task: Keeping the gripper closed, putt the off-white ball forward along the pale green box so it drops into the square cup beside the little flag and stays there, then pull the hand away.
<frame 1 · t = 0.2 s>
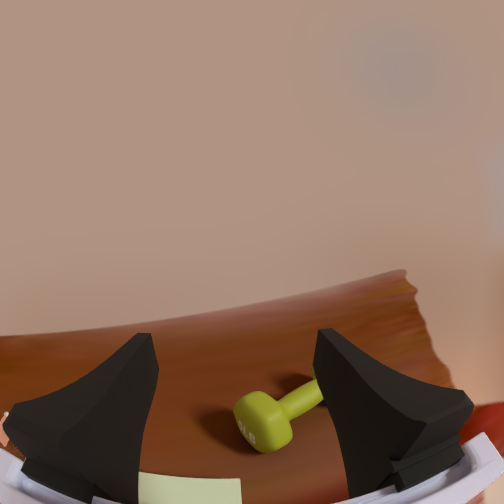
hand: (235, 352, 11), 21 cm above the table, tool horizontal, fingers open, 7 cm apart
dumbbell: (299, 417, 30), on the table
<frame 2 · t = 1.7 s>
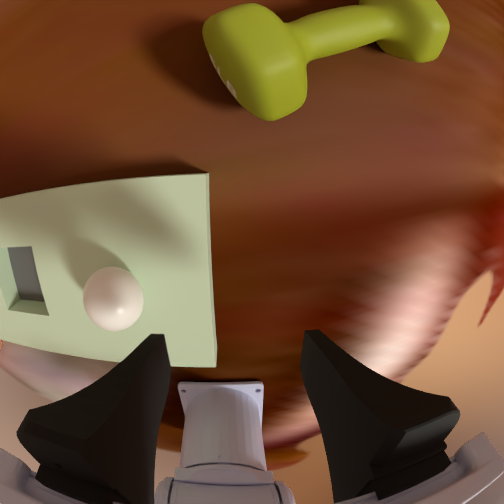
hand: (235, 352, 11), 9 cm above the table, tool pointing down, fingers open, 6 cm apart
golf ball: (113, 298, 15), point 4 cm above the table, touching pale green box
pale green box: (71, 271, 19), on the table
dumbbell: (321, 49, 16), on the table
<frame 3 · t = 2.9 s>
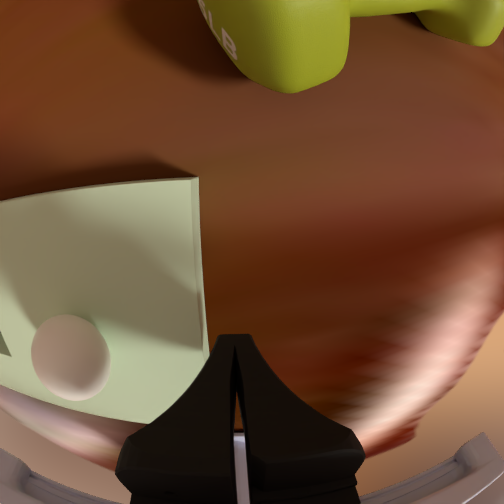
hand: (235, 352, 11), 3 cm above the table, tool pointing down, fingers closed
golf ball: (70, 357, 10), point 4 cm above the table, touching pale green box
pale green box: (32, 304, 13), on the table
dumbbell: (352, 16, 10), on the table
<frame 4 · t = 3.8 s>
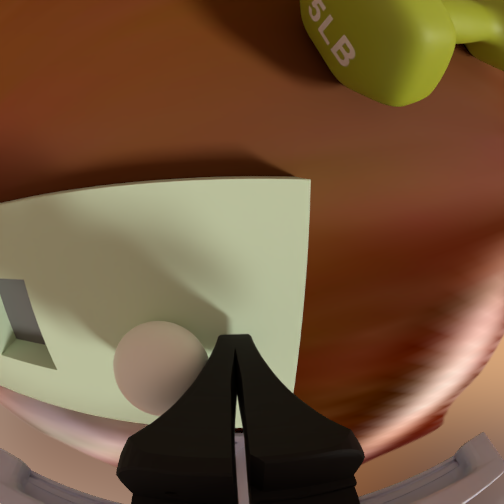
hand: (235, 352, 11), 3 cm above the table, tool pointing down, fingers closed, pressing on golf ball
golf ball: (161, 369, 10), point 4 cm above the table, touching gripper, pale green box
pale green box: (83, 310, 14), on the table
dumbbell: (414, 36, 10), on the table
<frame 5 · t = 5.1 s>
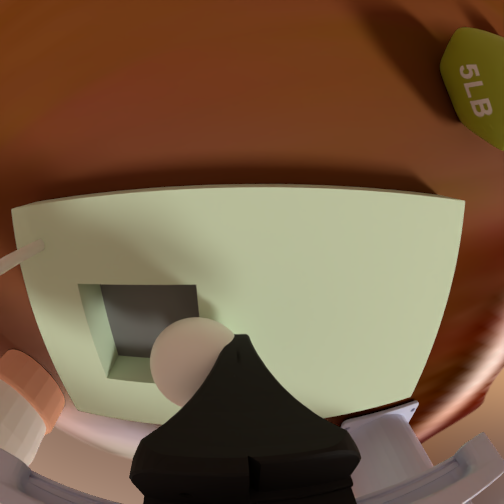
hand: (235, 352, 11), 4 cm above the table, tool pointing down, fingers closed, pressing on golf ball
pepper shaker: (34, 380, 16), on the table
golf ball: (198, 364, 10), point 4 cm above the table, tilted 126°, touching gripper, pale green box
pale green box: (242, 315, 15), on the table
dumbbell: (492, 86, 12), on the table
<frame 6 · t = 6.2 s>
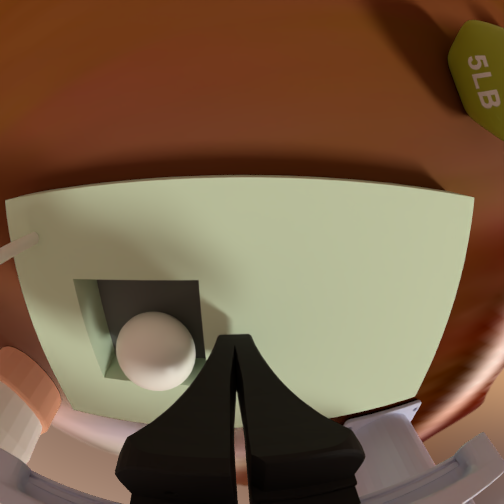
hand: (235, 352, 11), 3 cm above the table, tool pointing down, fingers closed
pepper shaker: (29, 378, 16), on the table
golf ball: (155, 351, 12), point 2 cm above the table, tilted 64°, touching pale green box
pale green box: (245, 312, 14), on the table
dumbbell: (499, 84, 11), on the table
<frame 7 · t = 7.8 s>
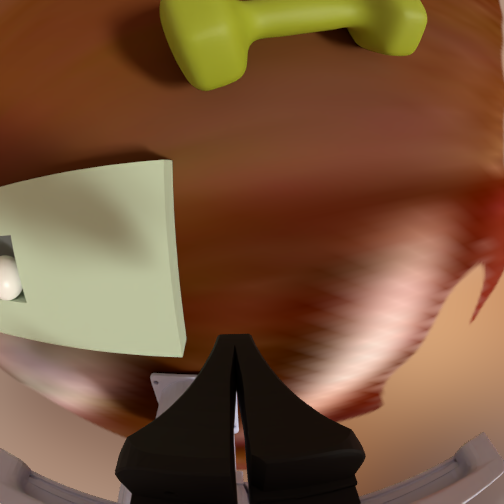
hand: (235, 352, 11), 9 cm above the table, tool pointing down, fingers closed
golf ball: (5, 277, 16), point 2 cm above the table, tilted 63°, touching pale green box
pale green box: (48, 260, 19), on the table
dumbbell: (288, 35, 15), on the table
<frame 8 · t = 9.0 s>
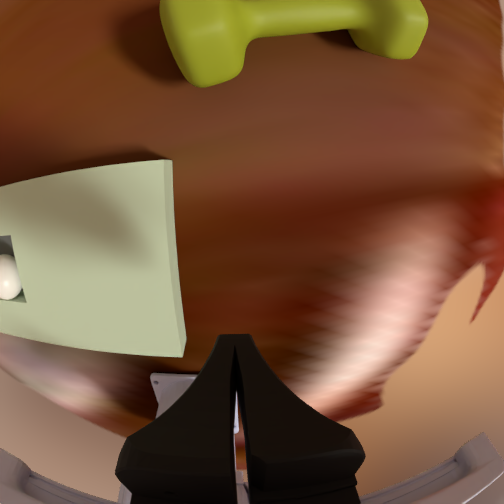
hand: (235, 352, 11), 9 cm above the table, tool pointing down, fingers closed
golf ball: (5, 276, 16), point 2 cm above the table, tilted 63°, touching pale green box
pale green box: (48, 260, 19), on the table
dumbbell: (288, 35, 15), on the table
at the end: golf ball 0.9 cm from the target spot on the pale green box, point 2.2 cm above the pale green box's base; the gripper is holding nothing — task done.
